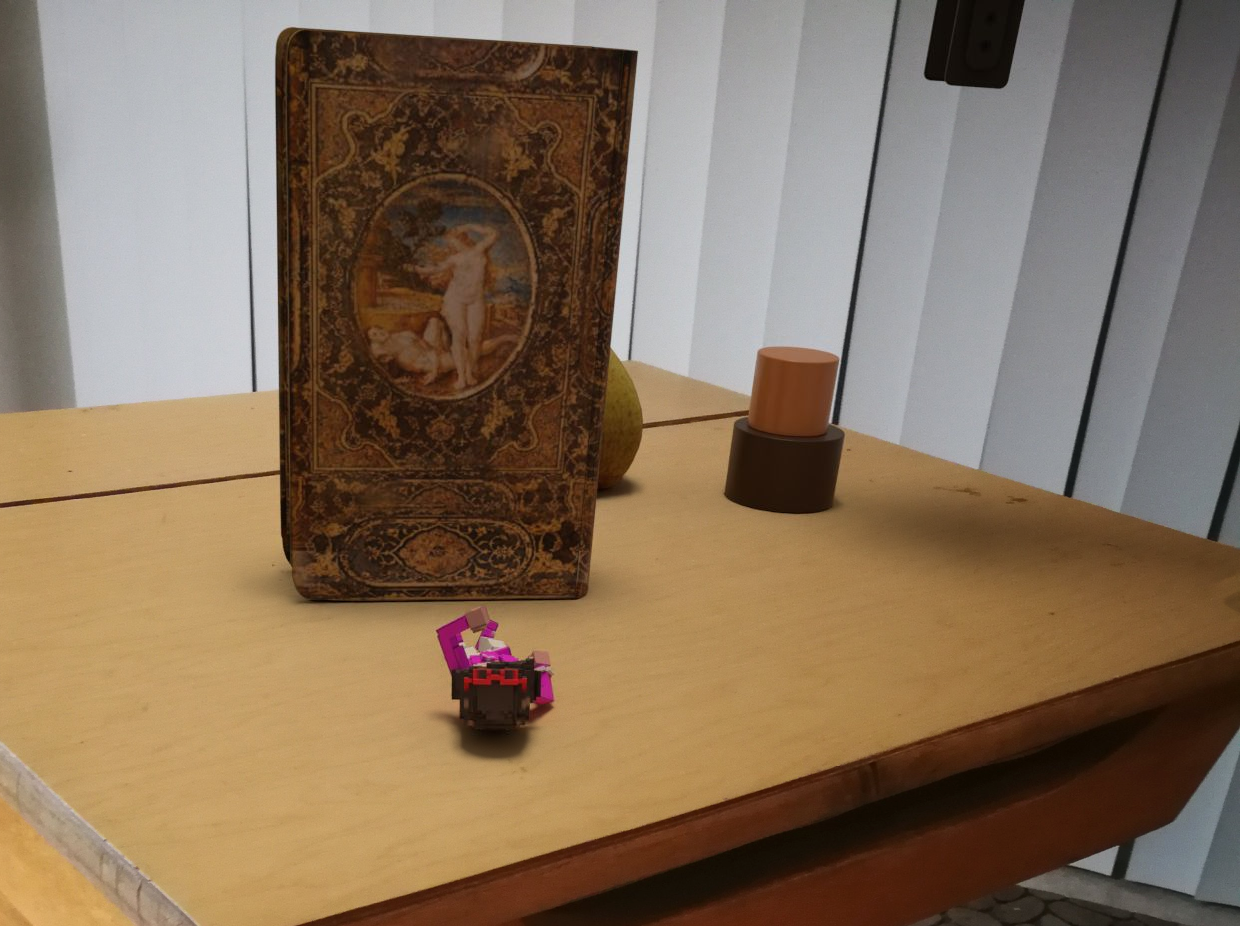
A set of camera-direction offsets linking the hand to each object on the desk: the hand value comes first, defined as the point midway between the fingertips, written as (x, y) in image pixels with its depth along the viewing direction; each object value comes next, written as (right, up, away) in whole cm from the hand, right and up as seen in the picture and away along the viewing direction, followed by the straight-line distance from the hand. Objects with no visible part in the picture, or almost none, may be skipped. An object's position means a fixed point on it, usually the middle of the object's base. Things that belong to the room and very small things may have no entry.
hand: (962, 83), depth 83 cm
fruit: (-21, -16, +19) cm, 32 cm away
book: (-29, -28, -1) cm, 40 cm away
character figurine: (-26, -37, -15) cm, 47 cm away
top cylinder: (-6, -13, +16) cm, 22 cm away
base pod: (-7, -16, +19) cm, 26 cm away
